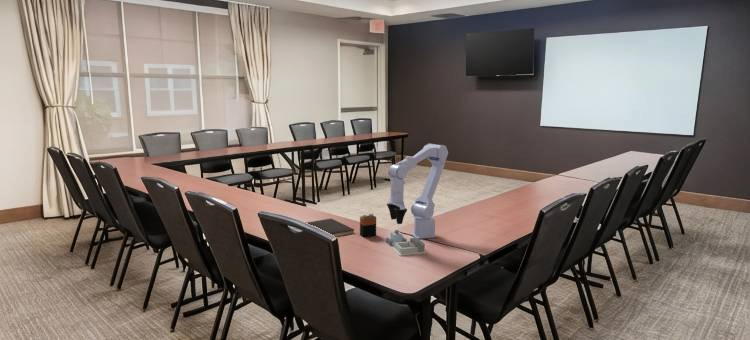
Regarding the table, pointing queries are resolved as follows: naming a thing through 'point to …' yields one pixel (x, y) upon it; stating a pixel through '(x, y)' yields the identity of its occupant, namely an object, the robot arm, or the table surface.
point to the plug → (396, 237)
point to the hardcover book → (332, 227)
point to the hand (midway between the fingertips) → (396, 221)
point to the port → (409, 247)
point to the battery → (368, 225)
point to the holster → (391, 240)
